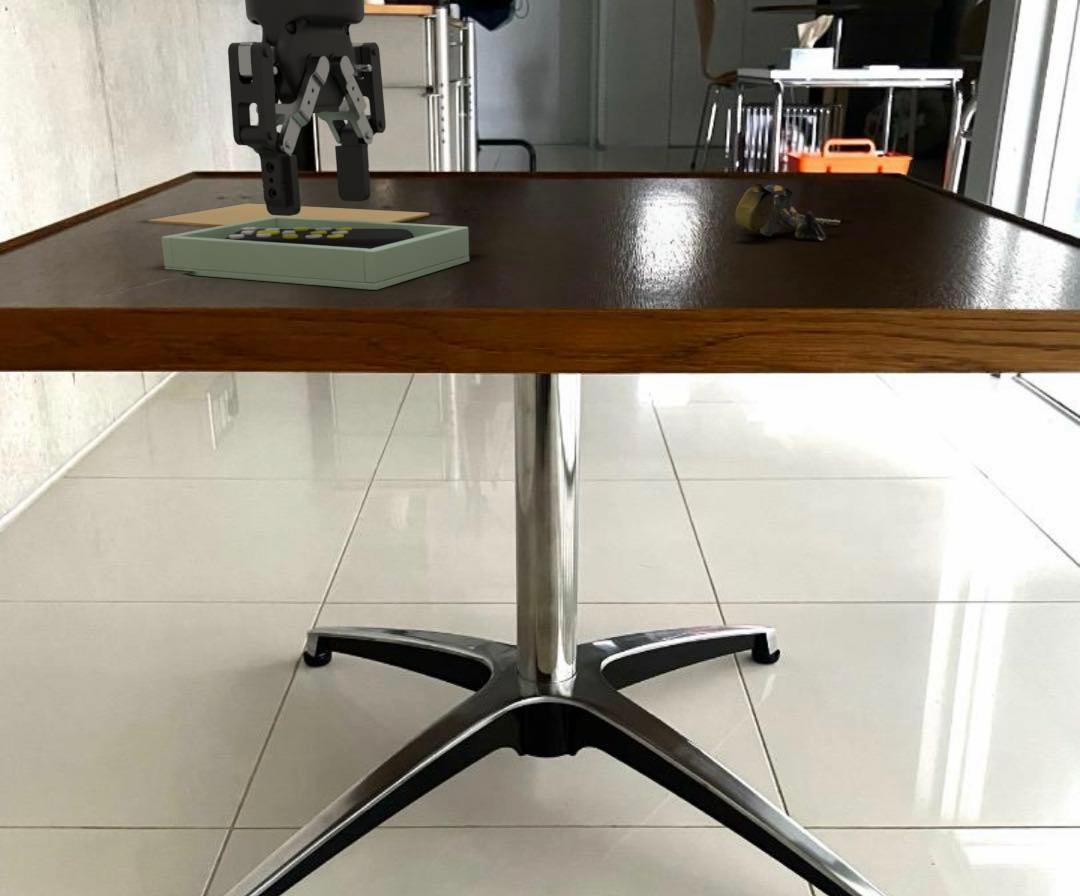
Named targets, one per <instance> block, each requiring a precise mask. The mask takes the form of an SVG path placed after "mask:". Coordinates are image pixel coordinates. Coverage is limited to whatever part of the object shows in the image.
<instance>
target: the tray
mask: <svg viewBox="0 0 1080 896" xmlns="http://www.w3.org/2000/svg"><path fill="white" fill-rule="evenodd" d="M245 227H256V228H257V229H267V228H279V229H293V228H295V227H307V228H308V229H316V228H323V227H330V228H332V229H336V228H343V227H351V228H352V229H406V230H408V231H410V232H412V234H413V236H414V238H411V239H407V240H404V241H400V242H396V243H392V244H388V245H384V246H380V247H376V248H372V249H366V248H351V247H336V246H321V245H306V244H291V243H276V242H261V241H245V240H230V239H225V238H226V237H228V236H229V235H232V234H234V233H235V232H237V231H240V230H242V228H245ZM469 236H470V235H469V227H468V226H462V225H461V226H460V225H459V226H458V225H444V224H443V225H442V224H427V223H424V224H423V223H407V222H397V223H392V222H374V221H356V220H339V219H321V218H303V217H285V216H282V217H281V216H271V217H265V218H260V219H255V220H249V221H244V222H238V223H233V224H228V225H222V226H217V227H214V226H211V227H207V228H202V229H195V230H191V231H185V232H180V233H175V234H169V235H163V236H161V238H160V239H161V248H162V257H163V265H164V269H165V270H175V271H176V270H177V271H188V272H186V273H183V275H184V276H186V275H187V276H195V277H211V278H221V279H232V280H233V279H234V280H245V281H247V280H248V281H259V282H271V283H283V284H296V285H297V284H298V285H310V286H321V287H331V288H332V287H333V288H334V287H335V288H346V289H356V290H372V291H378V290H380V289H381V290H382V289H384V288H387V287H391V286H394V285H397V284H400V283H404V282H406V281H407V282H408V281H411V280H413V279H417V278H419V277H423V276H426V275H429V274H433V273H436V272H439V271H443V270H445V269H449V268H452V267H456V266H459V265H462V264H464V263H468V262H470V242H469V241H470V238H469Z"/></svg>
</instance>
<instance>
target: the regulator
mask: <svg viewBox="0 0 1080 896" xmlns="http://www.w3.org/2000/svg"><path fill="white" fill-rule="evenodd" d="M793 194H794V192H793V191H791V190H790V189H789V188H787V187H783V186H781V185H778V184H768V185H766V186H765V187H763V183H759V184H758V183H756V184H755V185H753V186H752V187H750V188H748V189H747V190H746V191H745V192H744V194H743V196H742V197H741V198H740V200H739V202H738V204H737V206H736V210H735V215H734V216H735V222H736V225H739V226H742V227H745V228H747V229H748V230H749V231H752V232H759V233H760V234H762V235H763V236H766V237H772V235H773V234H774V233H776V232H778V231H779V230H780V229H781V228H782V226H783V225H787V226H789V227H790V228H792V229H794V230H795V233H794V236H795V237H796V238H798V239H802V238H804V237H806V238H814V239H815V240H818V241H821V242H822V241H824V240H825V239H826V238H827V235H826V233H825V232H824V230H823V228H822V227H821V226H823V225H824V224H825V225H827V226H828V225H829V226H839V225H840V224H841V221H842V220H840V219H839V220H838V219H829V218H822V217H815V216H814V214H813V212H812V211H811V210H806V211H805V214H804V215H803V214H800V213H798V211H797V210H796V209H795V208H794V206H792V197H793Z"/></svg>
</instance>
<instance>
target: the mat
mask: <svg viewBox="0 0 1080 896" xmlns="http://www.w3.org/2000/svg"><path fill="white" fill-rule="evenodd" d="M271 216H280V215H271V214H270V213H269V212H268V211H267V208H266V203H242V204H237V205H236V204H235V205H230V206H224V207H217V208H211V209H205V210H199V211H193V212H188V213H187V212H186V213H181V214H176V215H175V214H174V215H169V216H164V217H157V218H151V219H148V220H147V223H150V224H151V223H153V224H166V225H167V224H168V225H170V224H171V225H182V226H183V225H184V226H198V227H200V226H201V227H217V226H222V225H228V224H233V223H238V222H244V221H249V220H255V219H260V218H265V217H271ZM428 216H430V212H420V211H401V210H383V209H382V210H381V209H365V208H364V209H363V208H343V207H325V206H324V207H323V206H307V205H306V206H304V205H301V209H300V212H299V213H298V214H296V215H291V216H285V217H303V218H321V219H339V220H356V221H374V222H392V223H403V222H406V221H408V222H406V223H410V224H413V223H416V222H420V221H425V220H429V219H430V217H428ZM281 217H282V216H281ZM423 217H425V218H423ZM414 219H416V220H414ZM410 220H411V221H410Z"/></svg>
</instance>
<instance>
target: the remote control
mask: <svg viewBox="0 0 1080 896" xmlns="http://www.w3.org/2000/svg"><path fill="white" fill-rule="evenodd" d="M411 238H414V236H413V234H412V232H410V231H408V230H406V229H352V228H351V227H343V228H336V229H332V228H330V227H323V228H316V229H308V228H307V227H295V228H293V229H279V228H267V229H257V228H256V227H245V228H242V230H240V231H237V232H235V233H234V234H232V235H229V236H228V237H226V238H225V239H230V240H245V241H261V242H276V243H291V244H306V245H321V246H336V247H351V248H366V249H372V248H376V247H380V246H384V245H388V244H392V243H396V242H400V241H404V240H407V239H411Z"/></svg>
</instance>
